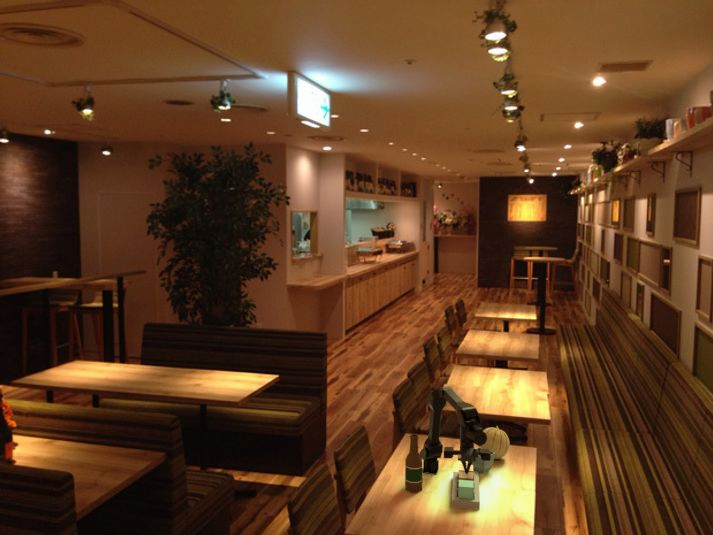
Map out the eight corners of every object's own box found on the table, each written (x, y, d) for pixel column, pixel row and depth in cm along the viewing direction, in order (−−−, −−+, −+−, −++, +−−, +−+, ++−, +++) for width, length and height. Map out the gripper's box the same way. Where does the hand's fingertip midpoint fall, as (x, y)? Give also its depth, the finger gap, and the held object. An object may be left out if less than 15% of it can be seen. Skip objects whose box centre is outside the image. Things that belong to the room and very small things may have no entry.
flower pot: (494, 471, 287) (495, 452, 286) (484, 477, 281) (485, 458, 280) (478, 465, 293) (478, 447, 292) (467, 471, 287) (468, 452, 286)
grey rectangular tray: (451, 507, 255) (452, 500, 255) (453, 478, 281) (453, 471, 280) (479, 509, 253) (479, 502, 253) (478, 480, 279) (478, 473, 278)
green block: (458, 498, 256) (458, 486, 256) (458, 491, 262) (458, 479, 262) (473, 499, 255) (473, 487, 255) (473, 492, 261) (473, 480, 261)
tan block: (458, 488, 264) (458, 477, 264) (458, 482, 270) (458, 471, 269) (473, 490, 263) (473, 478, 262) (473, 483, 269) (473, 472, 268)
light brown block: (458, 481, 272) (458, 470, 271) (458, 474, 278) (459, 464, 277) (472, 482, 271) (473, 471, 270) (472, 475, 277) (473, 465, 276)
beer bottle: (425, 486, 273) (425, 433, 270) (419, 494, 266) (419, 440, 263) (408, 483, 276) (408, 430, 273) (401, 491, 269) (402, 437, 266)
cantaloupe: (474, 461, 298) (475, 430, 296) (481, 449, 311) (481, 420, 310) (506, 466, 292) (507, 435, 290) (511, 454, 306) (512, 424, 304)
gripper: (443, 443, 250) (443, 480, 251) (491, 445, 247) (490, 484, 248) (444, 432, 261) (443, 468, 262) (490, 435, 257) (489, 471, 259)
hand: (466, 473), depth 258 cm, fingers closed
